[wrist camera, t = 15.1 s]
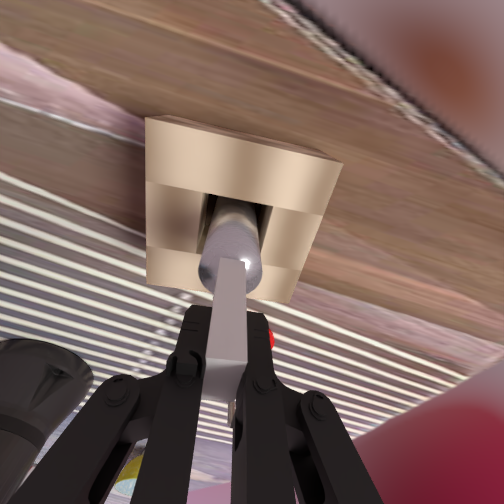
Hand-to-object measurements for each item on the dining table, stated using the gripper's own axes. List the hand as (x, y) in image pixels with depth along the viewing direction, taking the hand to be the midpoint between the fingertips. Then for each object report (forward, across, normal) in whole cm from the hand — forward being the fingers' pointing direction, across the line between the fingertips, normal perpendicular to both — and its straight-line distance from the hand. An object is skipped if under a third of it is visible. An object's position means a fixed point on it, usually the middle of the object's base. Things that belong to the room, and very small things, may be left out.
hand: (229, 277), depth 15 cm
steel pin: (+12, 0, 0) cm, 12 cm away
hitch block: (+12, 0, 0) cm, 12 cm away
